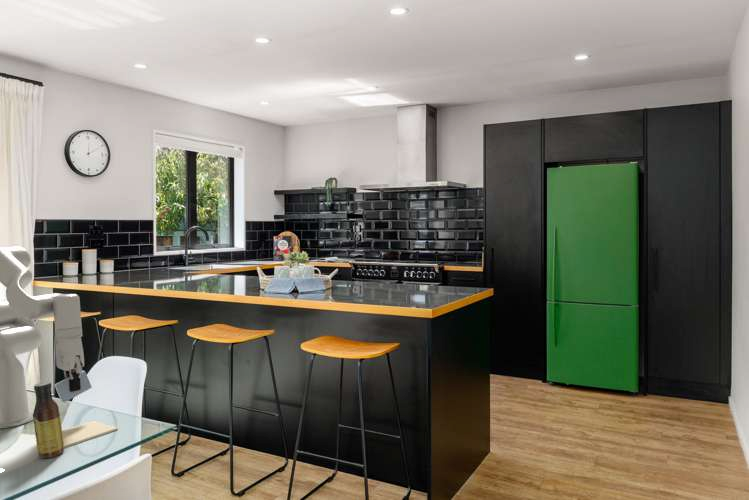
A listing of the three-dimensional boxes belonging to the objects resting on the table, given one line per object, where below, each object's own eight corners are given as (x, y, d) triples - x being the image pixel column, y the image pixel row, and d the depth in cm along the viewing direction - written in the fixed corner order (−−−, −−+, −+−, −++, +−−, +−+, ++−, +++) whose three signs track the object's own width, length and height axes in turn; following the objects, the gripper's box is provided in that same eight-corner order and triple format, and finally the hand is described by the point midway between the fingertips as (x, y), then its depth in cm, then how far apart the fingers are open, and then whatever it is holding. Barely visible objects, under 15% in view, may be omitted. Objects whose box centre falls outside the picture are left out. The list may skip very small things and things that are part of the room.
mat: (39, 439, 169) (39, 437, 169) (93, 422, 181) (93, 420, 181) (62, 448, 158) (61, 446, 158) (117, 429, 171) (117, 427, 171)
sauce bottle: (46, 451, 157) (37, 381, 156) (69, 449, 157) (60, 378, 157) (33, 461, 151) (24, 387, 150) (57, 458, 151) (48, 385, 150)
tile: (61, 401, 179) (54, 384, 177) (88, 386, 185) (81, 370, 184) (64, 402, 177) (57, 385, 176) (91, 387, 184) (85, 371, 182)
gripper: (45, 333, 182) (50, 389, 183) (67, 337, 172) (72, 397, 173) (70, 329, 188) (74, 383, 188) (92, 332, 178) (96, 390, 178)
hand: (73, 389), depth 180 cm, fingers closed on tile, 2 cm apart
